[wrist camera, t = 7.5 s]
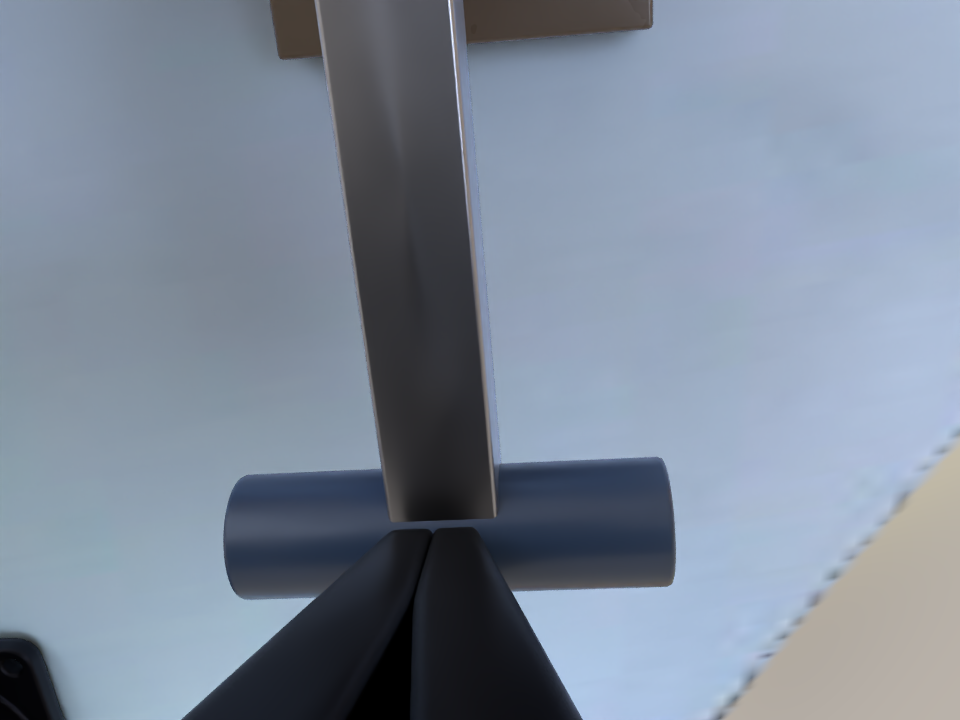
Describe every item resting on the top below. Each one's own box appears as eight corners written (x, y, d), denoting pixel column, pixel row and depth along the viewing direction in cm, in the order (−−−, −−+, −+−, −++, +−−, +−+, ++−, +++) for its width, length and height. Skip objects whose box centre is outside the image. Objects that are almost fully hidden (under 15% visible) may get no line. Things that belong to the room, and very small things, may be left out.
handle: (652, 511, 10) (684, 651, 8) (284, 525, 11) (219, 662, 8) (643, -822, 6) (702, -1283, 4) (38, -721, 7) (-217, -1094, 4)
